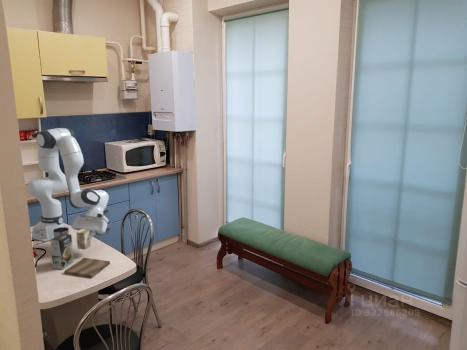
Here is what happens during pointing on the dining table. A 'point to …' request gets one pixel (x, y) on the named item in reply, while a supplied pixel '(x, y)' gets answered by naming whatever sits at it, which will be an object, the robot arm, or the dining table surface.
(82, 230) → the maple block
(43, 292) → the dining table surface
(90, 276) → the walnut board
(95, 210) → the robot arm
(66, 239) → the coffee box
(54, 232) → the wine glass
